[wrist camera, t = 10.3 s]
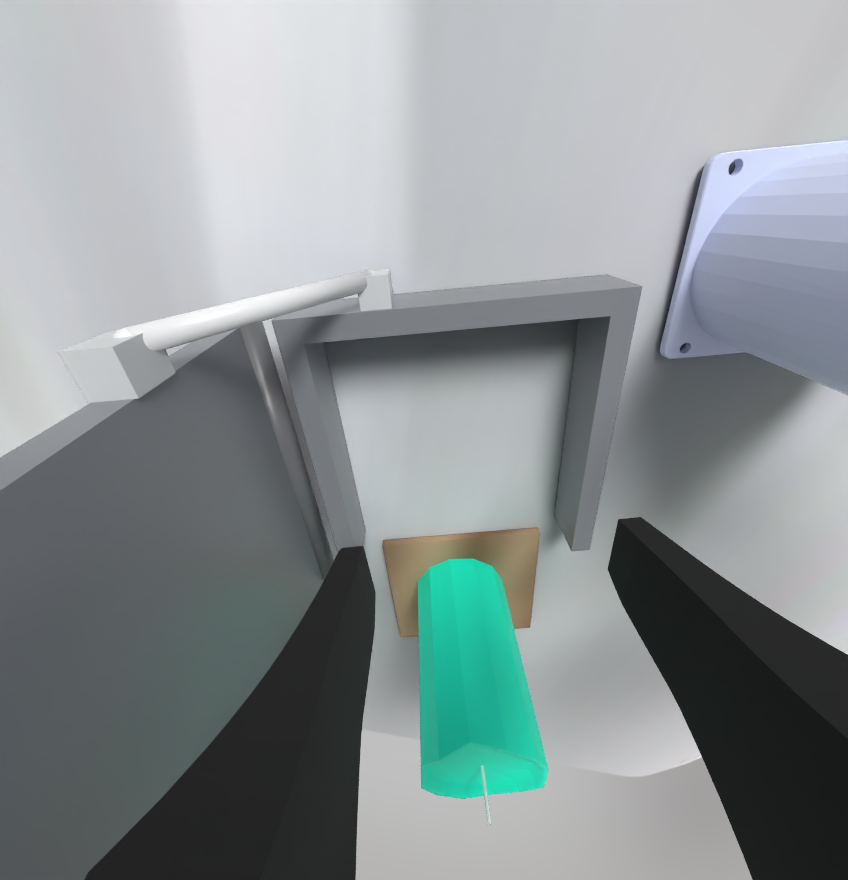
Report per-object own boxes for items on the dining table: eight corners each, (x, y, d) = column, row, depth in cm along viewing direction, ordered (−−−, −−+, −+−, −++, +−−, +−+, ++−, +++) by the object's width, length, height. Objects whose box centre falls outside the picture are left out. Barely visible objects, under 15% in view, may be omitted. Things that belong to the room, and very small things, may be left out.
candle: (515, 565, 26) (584, 803, 15) (484, 618, 29) (526, 848, 18) (429, 551, 25) (442, 794, 14) (407, 607, 28) (405, 842, 17)
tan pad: (537, 527, 25) (539, 533, 24) (528, 621, 30) (530, 627, 29) (383, 540, 25) (382, 546, 24) (400, 631, 30) (400, 637, 30)
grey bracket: (612, 240, 16) (2482, 525, 2) (570, 513, 24) (813, 978, 10) (236, 275, 16) (-1137, 794, 2) (317, 534, 24) (177, 1015, 10)
